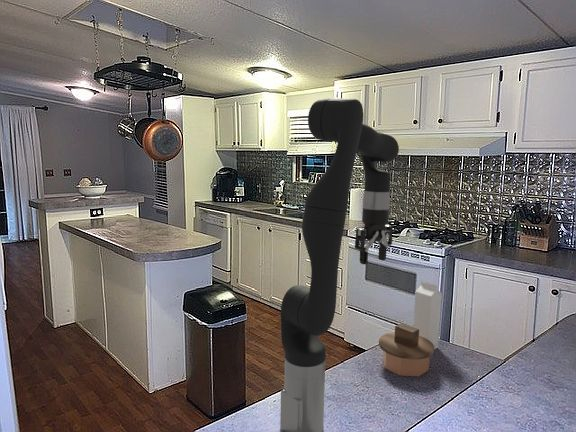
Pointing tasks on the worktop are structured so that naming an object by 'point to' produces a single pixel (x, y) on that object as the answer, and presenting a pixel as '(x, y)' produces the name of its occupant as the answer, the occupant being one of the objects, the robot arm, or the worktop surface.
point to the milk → (428, 312)
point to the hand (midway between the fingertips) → (373, 261)
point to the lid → (406, 343)
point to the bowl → (405, 365)
